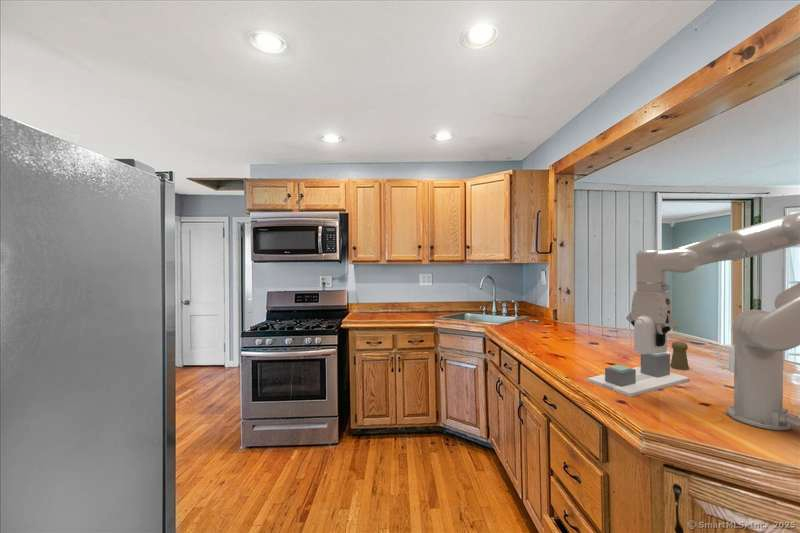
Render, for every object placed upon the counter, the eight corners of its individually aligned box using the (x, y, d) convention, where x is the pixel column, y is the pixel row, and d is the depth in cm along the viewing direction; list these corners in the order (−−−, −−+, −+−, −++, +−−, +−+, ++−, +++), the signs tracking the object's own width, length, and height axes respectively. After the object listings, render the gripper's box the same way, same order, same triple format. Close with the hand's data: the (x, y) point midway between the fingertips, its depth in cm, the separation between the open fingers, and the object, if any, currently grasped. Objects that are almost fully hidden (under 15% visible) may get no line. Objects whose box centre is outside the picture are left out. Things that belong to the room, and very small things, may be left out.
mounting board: (689, 380, 126) (689, 355, 125) (630, 397, 112) (630, 368, 111) (644, 368, 140) (644, 345, 140) (587, 381, 126) (587, 356, 126)
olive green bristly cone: (687, 367, 141) (687, 341, 141) (690, 371, 136) (690, 344, 136) (669, 364, 144) (669, 339, 144) (671, 368, 139) (671, 342, 139)
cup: (716, 365, 143) (717, 342, 142) (757, 372, 134) (758, 347, 134) (715, 370, 137) (716, 346, 137) (758, 377, 128) (758, 351, 128)
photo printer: (656, 349, 111) (656, 312, 110) (669, 352, 106) (669, 314, 106) (631, 352, 108) (631, 314, 108) (644, 355, 104) (644, 316, 104)
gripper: (688, 289, 101) (688, 348, 101) (630, 285, 116) (630, 337, 116) (675, 290, 97) (674, 352, 98) (616, 286, 113) (616, 339, 113)
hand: (650, 343), depth 107 cm, fingers closed on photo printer, 4 cm apart
